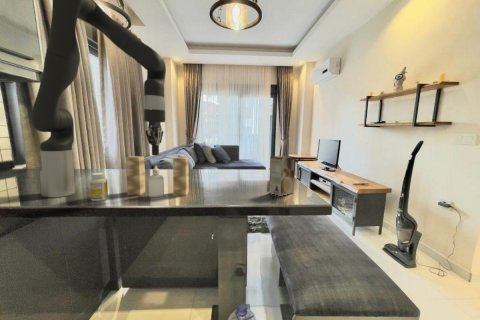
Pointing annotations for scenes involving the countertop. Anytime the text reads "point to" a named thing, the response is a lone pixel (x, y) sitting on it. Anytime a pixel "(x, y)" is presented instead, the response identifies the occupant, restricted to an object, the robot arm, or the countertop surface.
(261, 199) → the countertop surface
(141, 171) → the post left
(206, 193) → the countertop surface
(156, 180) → the eye dropper bottle
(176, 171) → the post right
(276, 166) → the coffee box
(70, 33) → the robot arm
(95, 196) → the supplement bottle
